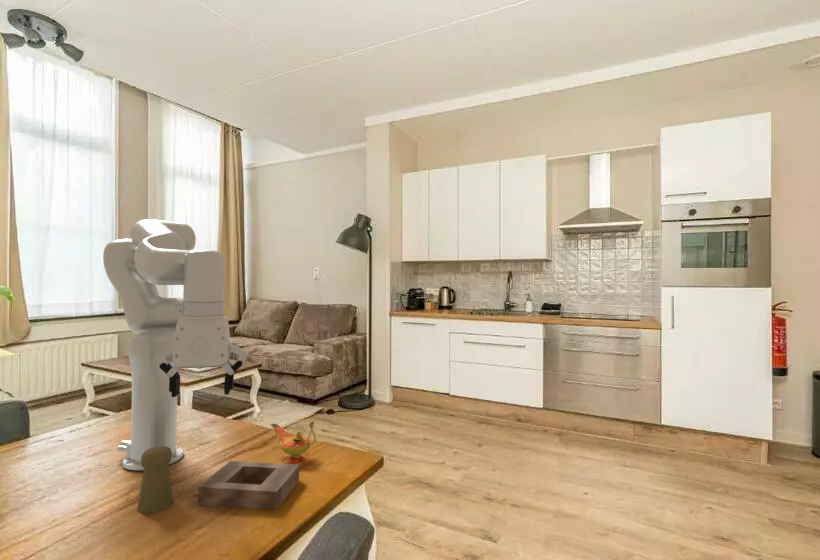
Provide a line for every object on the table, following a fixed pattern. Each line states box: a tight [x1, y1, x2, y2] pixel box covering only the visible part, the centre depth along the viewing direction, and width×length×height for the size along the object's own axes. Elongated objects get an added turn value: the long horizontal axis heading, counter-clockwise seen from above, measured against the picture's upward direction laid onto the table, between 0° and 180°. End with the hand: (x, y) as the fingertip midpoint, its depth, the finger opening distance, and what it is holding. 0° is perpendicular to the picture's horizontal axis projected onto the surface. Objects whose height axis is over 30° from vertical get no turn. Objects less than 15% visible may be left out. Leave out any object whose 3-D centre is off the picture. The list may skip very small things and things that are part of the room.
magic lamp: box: [270, 420, 317, 465], centre depth 102 cm, size 7×18×11 cm, turn 52°
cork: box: [136, 446, 174, 515], centre depth 80 cm, size 6×6×11 cm
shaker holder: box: [197, 460, 300, 511], centre depth 85 cm, size 16×12×4 cm
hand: (202, 394), depth 84 cm, fingers open, 9 cm apart
